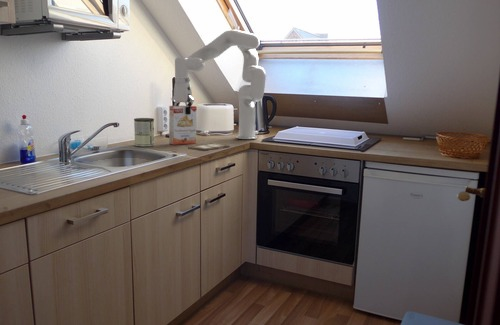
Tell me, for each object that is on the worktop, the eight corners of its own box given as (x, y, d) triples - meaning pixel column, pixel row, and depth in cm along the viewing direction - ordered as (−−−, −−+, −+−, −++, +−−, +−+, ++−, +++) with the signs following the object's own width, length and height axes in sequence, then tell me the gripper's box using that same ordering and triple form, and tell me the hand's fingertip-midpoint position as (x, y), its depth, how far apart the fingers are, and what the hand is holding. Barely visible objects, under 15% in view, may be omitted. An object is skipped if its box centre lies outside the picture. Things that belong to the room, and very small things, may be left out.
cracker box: (173, 145, 241) (173, 106, 238) (169, 143, 246) (168, 105, 243) (196, 143, 249) (196, 105, 246) (191, 142, 254) (191, 105, 250)
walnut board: (212, 144, 247) (212, 143, 247) (229, 147, 240) (229, 145, 239) (187, 148, 232) (188, 146, 232) (205, 150, 225) (205, 149, 224)
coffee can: (133, 144, 242) (132, 117, 240) (152, 143, 246) (152, 117, 243) (136, 146, 233) (135, 119, 230) (156, 146, 237) (155, 119, 234)
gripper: (198, 81, 239) (199, 114, 243) (176, 80, 250) (176, 112, 253) (188, 81, 233) (189, 115, 237) (165, 80, 244) (166, 113, 247)
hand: (182, 113), depth 245 cm, fingers open, 7 cm apart
